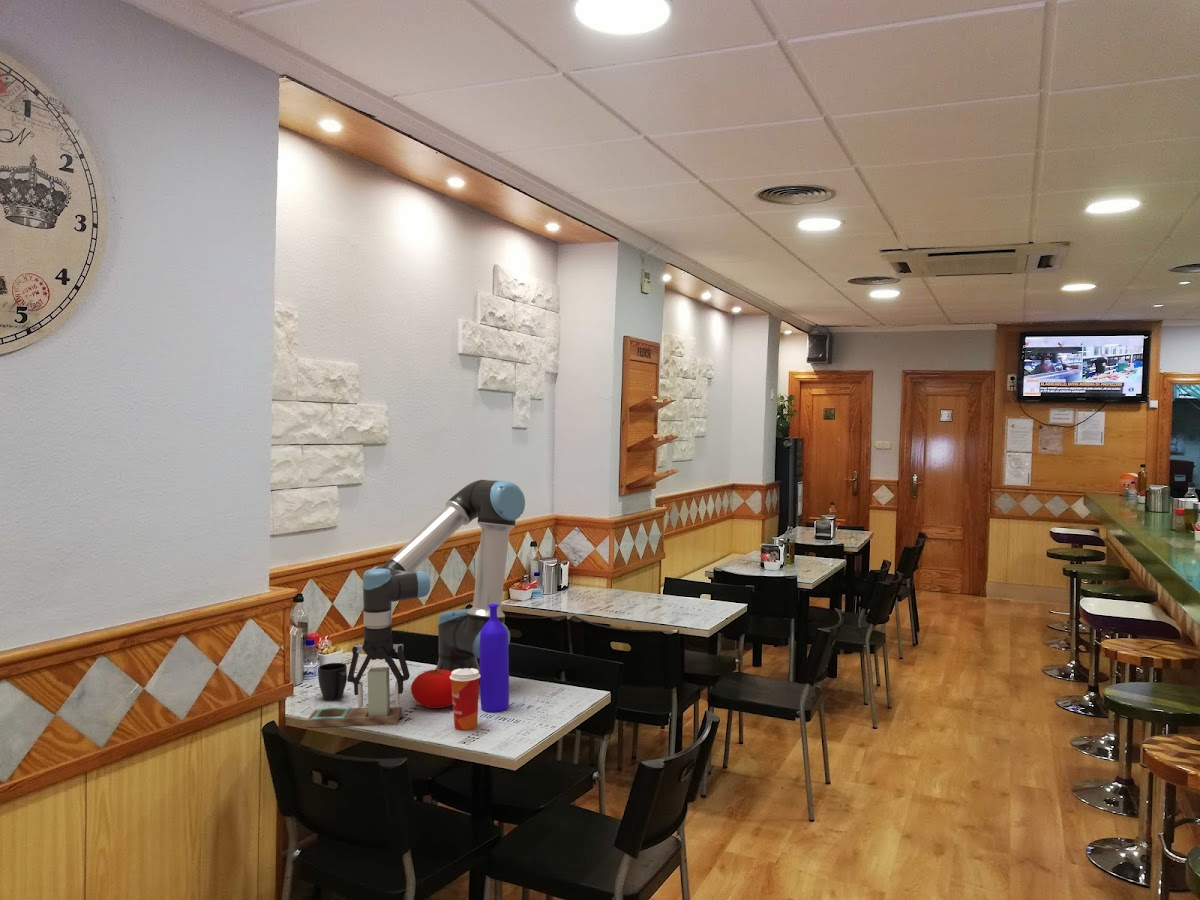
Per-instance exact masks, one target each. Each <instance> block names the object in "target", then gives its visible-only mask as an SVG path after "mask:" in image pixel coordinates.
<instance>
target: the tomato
mask: <svg viewBox="0 0 1200 900" xmlns="http://www.w3.org/2000/svg"><path fill="white" fill-rule="evenodd" d="M451 673H452V672H451V671H449V670H443V669H436V668H435V669H430V670H425V671H423V672H422V673H420V674H418V675H417V676H416V677H415V678H414V679H413V681H412V683H411V685H410V693H411V695H412V698H413V699H414V700H415V701H416V703H418V704H419V705H420V706H424V707H426V708H431V709H432V708H434V709H440V708H445V707H449V706H452V705H453V699H452V685H451V679H450V676H451Z"/></svg>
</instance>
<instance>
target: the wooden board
mask: <svg viewBox="0 0 1200 900" xmlns="http://www.w3.org/2000/svg"><path fill="white" fill-rule="evenodd" d="M402 715H403V706H398V707H395V706H390V715H389V716H372V717H368V707H361V708H358V707H351V706H347V707H345V706H344V707H319V708H318V709H317V708H315V709H314V710H313V712H312V713H311V714H310V715H309V717H308V718H307V719H306V727H307V728H323V727H324V728H325V727H326V728H329V727H332V728H333V727H355V726H359V727H360V726H361V727H363V726H386V724H388V725H387V726H389V725H390V726H391V725H392V726H393V725H397V724H398V723H399V721H400V719H401V717H402Z"/></svg>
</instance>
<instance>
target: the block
mask: <svg viewBox="0 0 1200 900" xmlns="http://www.w3.org/2000/svg"><path fill="white" fill-rule="evenodd" d="M390 685H391V684H390V667H389V666H377V667H375V666H373V667H370V668H369V670H368V671H367V705H368V706H367V708H368V717H372V716H389V715H390V707H391V700H390V699H391V697H390V696H391V695H390V694H391V692H390V689H391V687H390Z"/></svg>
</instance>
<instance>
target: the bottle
mask: <svg viewBox="0 0 1200 900" xmlns="http://www.w3.org/2000/svg"><path fill="white" fill-rule="evenodd" d="M498 606H499V605H498V604H489V605H488V607H490V619H489V620H488V622H487V623H486V624H485V625H484V627H483V628H482V630H481V632H480V659H479V668H480V685H479V693H480V694H479V695H480V696H479V697H480V708H481V710H482V711H483V712H486V713H500V712H504V711H506V710H508V708H509V705H510V669H509V668H510V661H509V660H510V657H509V651H510V650H509V645H508V633H507V630H506V628H505V627H504V625H503V624H502V623H501V622H500V621H499V620H498V617H497V607H498Z"/></svg>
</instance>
